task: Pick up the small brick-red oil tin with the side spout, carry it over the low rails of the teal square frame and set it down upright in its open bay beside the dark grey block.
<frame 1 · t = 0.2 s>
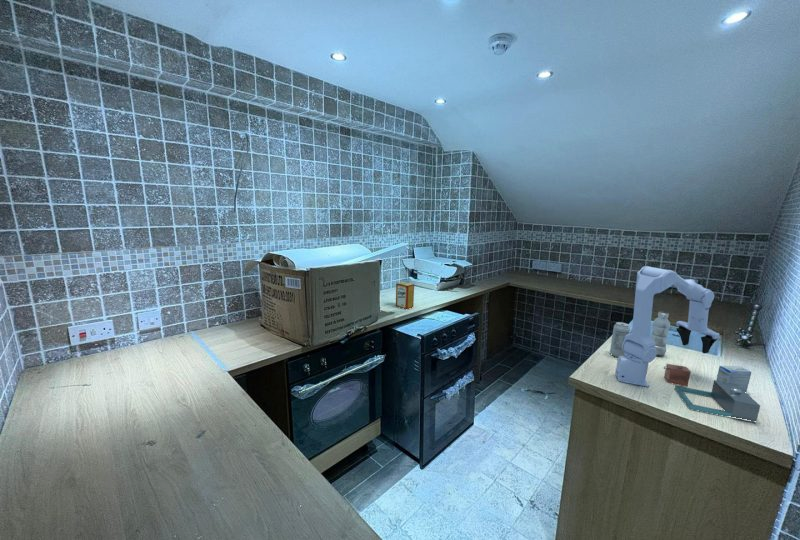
hand: (695, 348, 133), 10 cm above the worktop, tool pointing down, fingers open, 7 cm apart
oil tin: (675, 382, 127), on the worktop
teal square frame: (701, 402, 113), on the worktop
medicine box: (730, 390, 123), on the worktop
energy drink can: (617, 355, 150), on the worktop
plastic bottle: (656, 354, 152), on the worktop
baking soda box: (404, 307, 214), on the worktop
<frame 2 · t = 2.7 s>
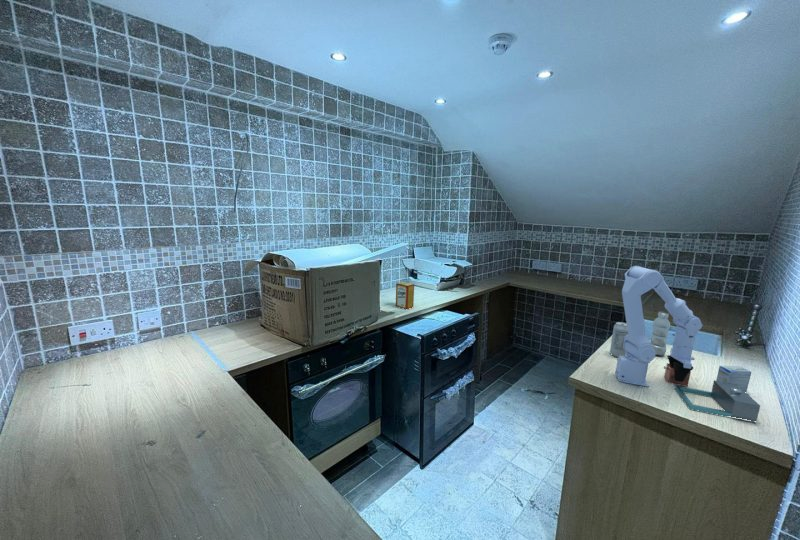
hand: (676, 377, 127), 2 cm above the worktop, tool pointing down, fingers closed on oil tin, 4 cm apart
oil tin: (675, 381, 127), on the worktop, touching gripper
everything else where it was.
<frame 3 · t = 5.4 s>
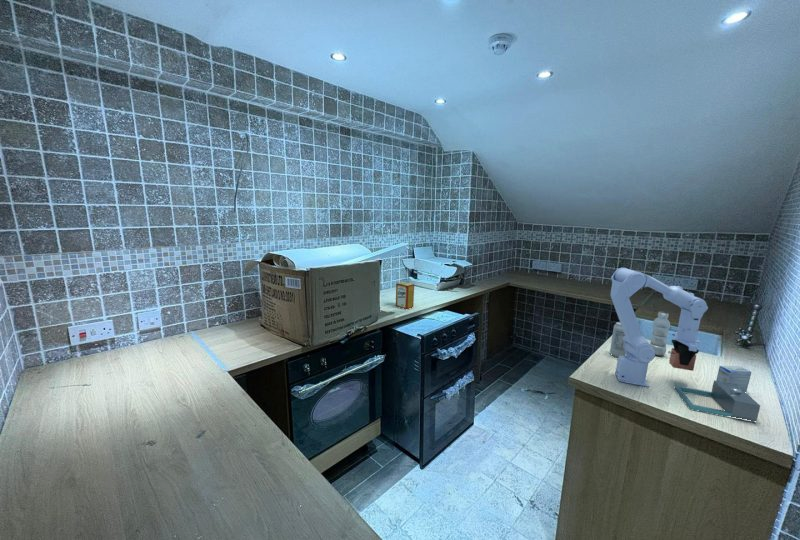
hand: (681, 362, 125), 9 cm above the worktop, tool pointing down, fingers closed on oil tin, 4 cm apart
oil tin: (680, 366, 125), point 7 cm above the worktop, touching gripper
everything else where it was.
when the fingers open (4 cm above the worktop, at t = 8.2 s): oil tin drops 2 cm, resting in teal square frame.
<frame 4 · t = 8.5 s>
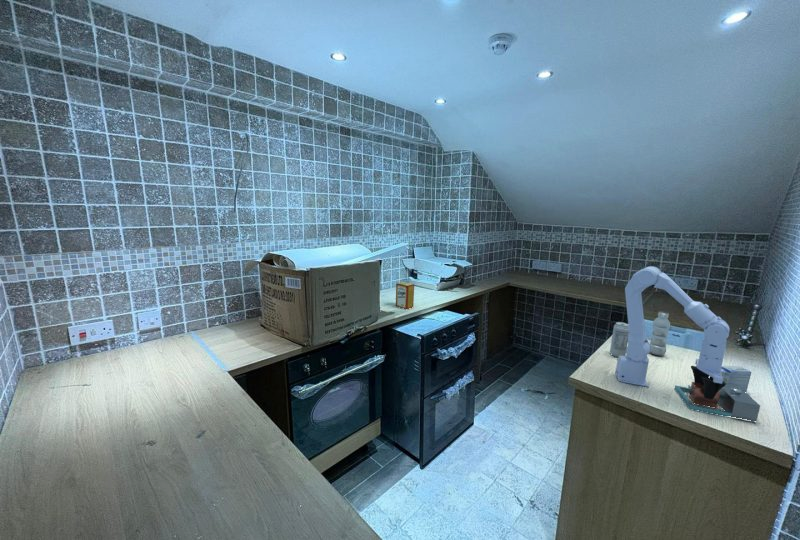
hand: (703, 392, 113), 4 cm above the worktop, tool pointing down, fingers open, 7 cm apart
oil tin: (702, 402, 113), resting in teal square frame
everything else where it was.
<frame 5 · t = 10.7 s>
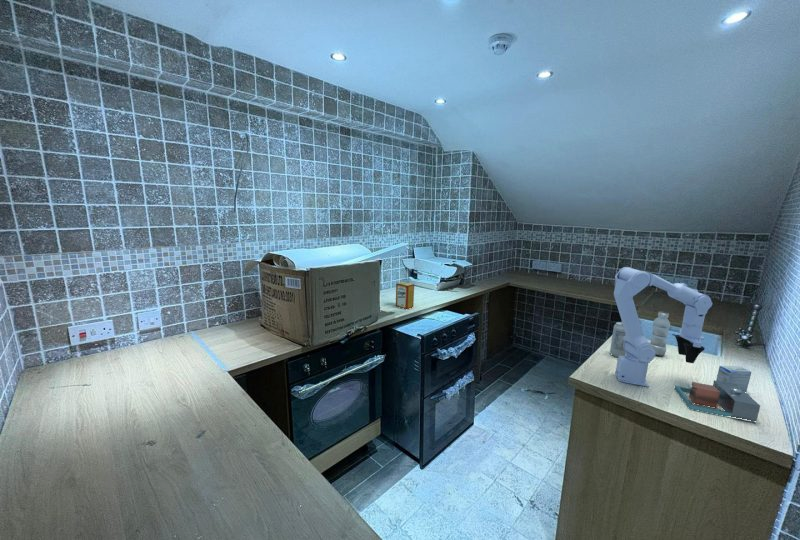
hand: (685, 358, 125), 10 cm above the worktop, tool pointing down, fingers open, 7 cm apart
nothing on the worktop moved.
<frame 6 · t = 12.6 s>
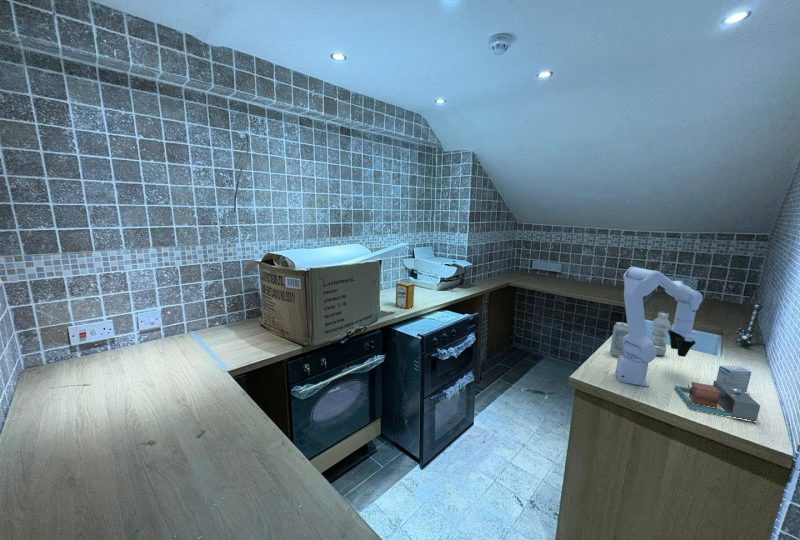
hand: (677, 352, 131), 10 cm above the worktop, tool pointing down, fingers open, 7 cm apart
nothing on the worktop moved.
at the end: oil tin 0.1 cm off-centre on the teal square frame, point 0.0 cm above the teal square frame's base; oil tin tilted 0°; the gripper is holding nothing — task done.
